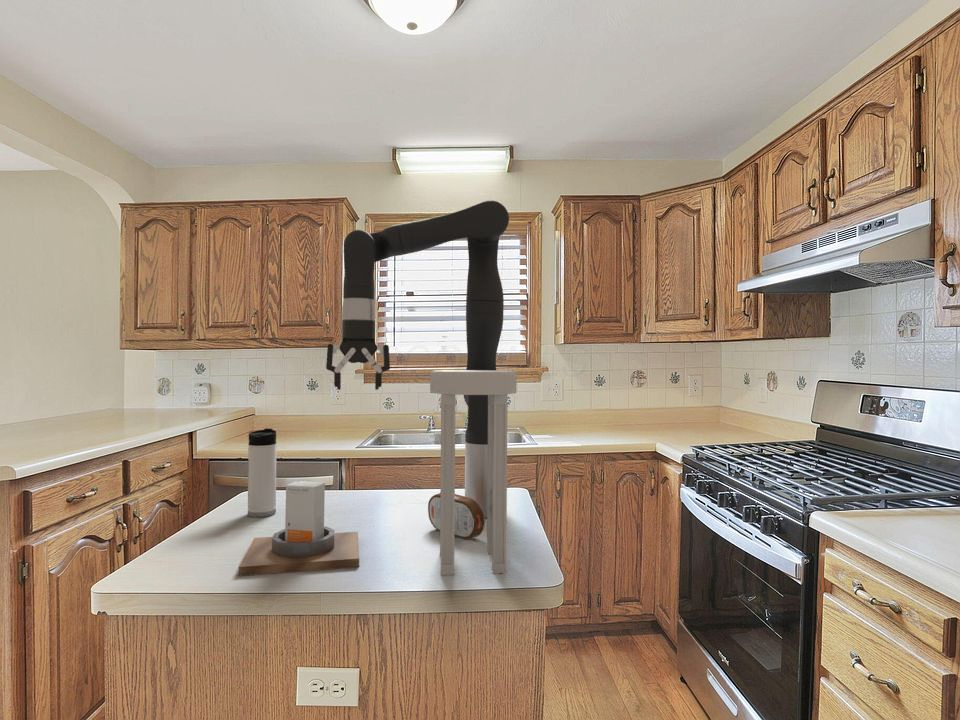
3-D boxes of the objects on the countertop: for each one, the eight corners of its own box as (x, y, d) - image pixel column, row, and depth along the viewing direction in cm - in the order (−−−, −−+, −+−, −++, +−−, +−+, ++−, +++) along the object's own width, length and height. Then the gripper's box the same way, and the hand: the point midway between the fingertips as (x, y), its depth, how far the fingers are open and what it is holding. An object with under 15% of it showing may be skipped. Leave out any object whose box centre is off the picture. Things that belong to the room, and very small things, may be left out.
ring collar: (335, 536, 111) (335, 524, 111) (333, 555, 100) (333, 541, 100) (276, 540, 108) (276, 527, 108) (268, 559, 98) (268, 545, 98)
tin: (485, 541, 114) (485, 499, 114) (474, 544, 112) (475, 502, 112) (435, 525, 124) (436, 488, 124) (425, 528, 122) (425, 490, 122)
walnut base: (357, 538, 114) (357, 531, 114) (359, 566, 99) (359, 558, 99) (254, 545, 110) (254, 537, 110) (238, 575, 94) (238, 566, 94)
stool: (428, 580, 93) (430, 371, 93) (429, 549, 108) (430, 369, 109) (519, 577, 94) (521, 371, 94) (507, 547, 110) (509, 370, 110)
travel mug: (281, 510, 136) (281, 428, 136) (268, 518, 129) (268, 431, 129) (256, 509, 136) (257, 428, 136) (242, 517, 130) (243, 431, 130)
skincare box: (284, 549, 103) (284, 485, 103) (295, 542, 107) (296, 480, 107) (314, 551, 102) (315, 486, 102) (325, 544, 106) (325, 481, 106)
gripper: (326, 317, 123) (325, 390, 123) (391, 318, 126) (390, 390, 126) (327, 319, 130) (326, 388, 130) (388, 321, 133) (388, 388, 133)
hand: (358, 389), depth 128 cm, fingers open, 8 cm apart
